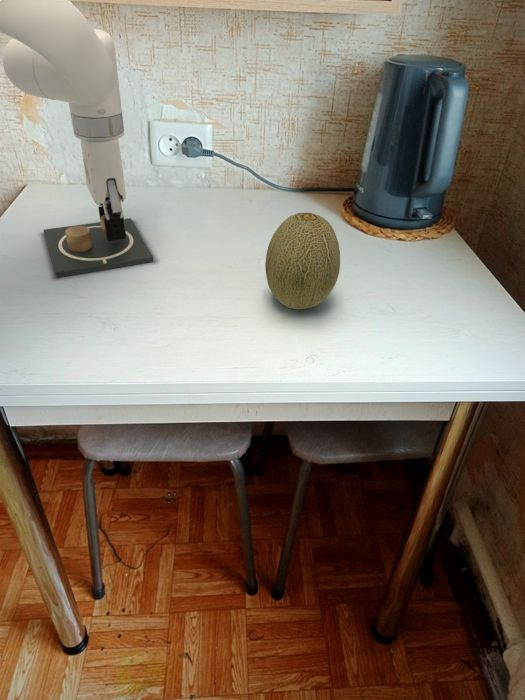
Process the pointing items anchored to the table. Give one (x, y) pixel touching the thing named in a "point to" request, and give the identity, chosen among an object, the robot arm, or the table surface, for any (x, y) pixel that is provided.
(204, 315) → the table surface
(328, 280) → the fruit
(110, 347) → the table surface
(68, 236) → the tan cork puck
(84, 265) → the slate board
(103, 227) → the tan cork stopper
